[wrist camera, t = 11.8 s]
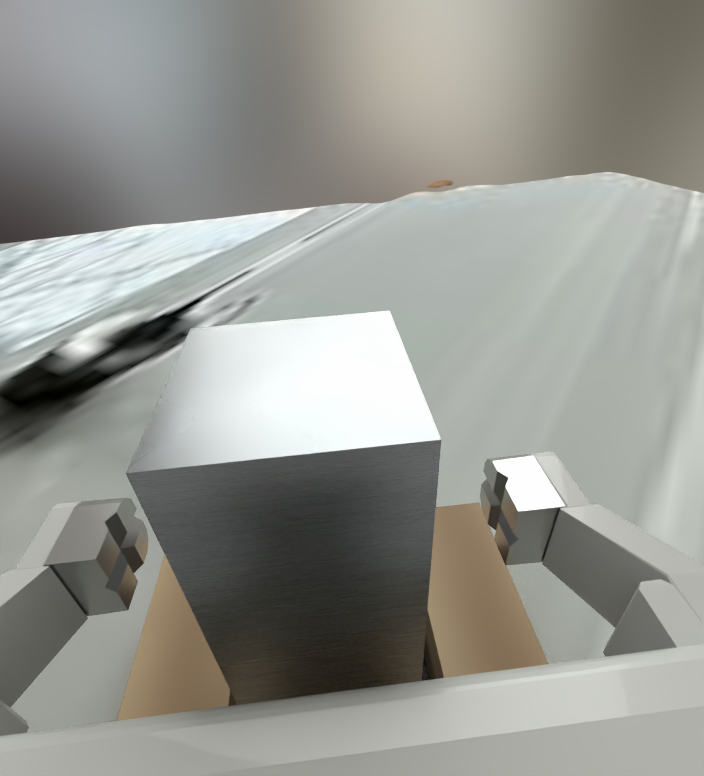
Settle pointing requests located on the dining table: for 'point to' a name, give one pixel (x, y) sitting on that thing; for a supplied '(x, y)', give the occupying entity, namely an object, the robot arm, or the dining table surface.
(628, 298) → the dining table surface
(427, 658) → the well block
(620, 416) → the dining table surface
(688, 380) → the dining table surface
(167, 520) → the post
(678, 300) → the dining table surface
